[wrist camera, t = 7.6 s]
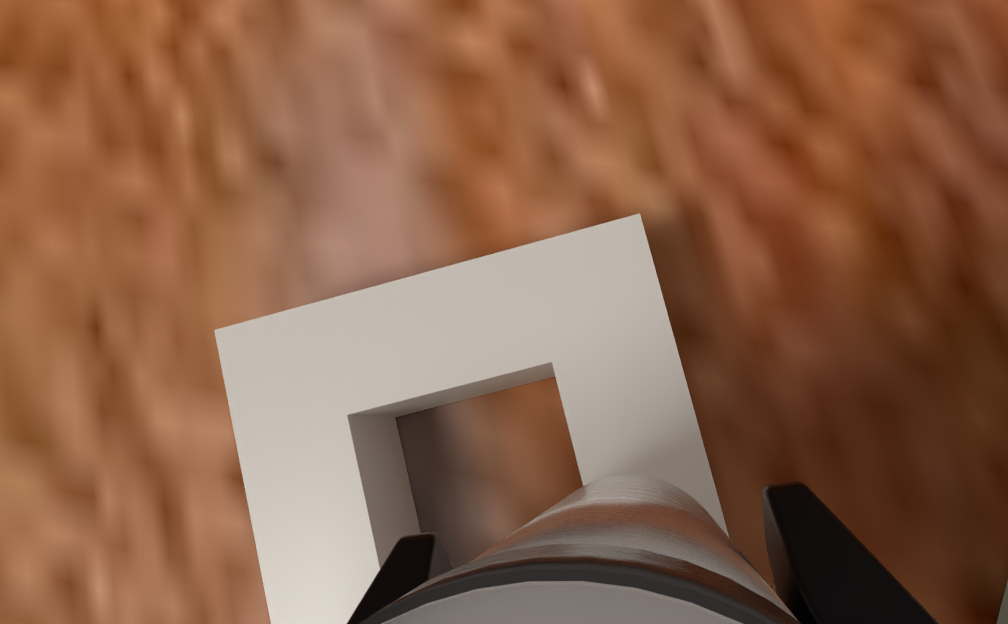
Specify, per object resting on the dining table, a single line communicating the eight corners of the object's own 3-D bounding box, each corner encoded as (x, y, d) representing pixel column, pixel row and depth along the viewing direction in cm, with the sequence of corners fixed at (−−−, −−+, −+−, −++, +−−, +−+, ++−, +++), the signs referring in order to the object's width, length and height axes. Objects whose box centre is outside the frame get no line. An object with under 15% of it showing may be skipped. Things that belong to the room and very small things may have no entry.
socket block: (748, 640, 22) (769, 684, 18) (359, 724, 24) (301, 783, 20) (641, 248, 24) (639, 213, 20) (281, 345, 25) (214, 329, 21)
